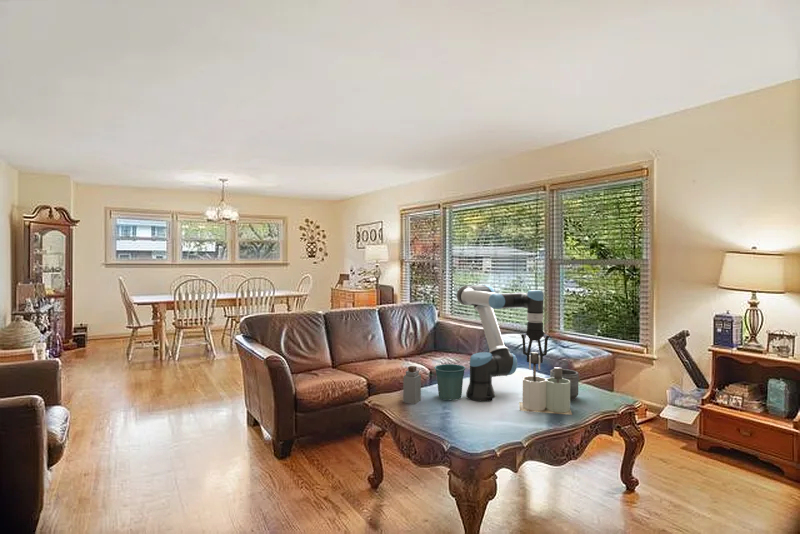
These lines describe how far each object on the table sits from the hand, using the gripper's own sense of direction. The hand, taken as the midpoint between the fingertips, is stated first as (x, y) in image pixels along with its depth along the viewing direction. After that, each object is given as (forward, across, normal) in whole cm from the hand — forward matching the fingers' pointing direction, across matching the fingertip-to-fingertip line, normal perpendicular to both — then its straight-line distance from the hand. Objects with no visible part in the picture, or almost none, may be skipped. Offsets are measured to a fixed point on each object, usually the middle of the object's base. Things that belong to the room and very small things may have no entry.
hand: (534, 369), depth 231 cm
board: (+20, +5, 0) cm, 21 cm away
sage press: (+19, +11, +2) cm, 22 cm away
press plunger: (+8, 0, 0) cm, 8 cm away
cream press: (+19, 0, +2) cm, 19 cm away
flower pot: (+20, -43, +10) cm, 49 cm away
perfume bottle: (+20, -61, -2) cm, 64 cm away
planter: (+20, +16, +21) cm, 33 cm away
